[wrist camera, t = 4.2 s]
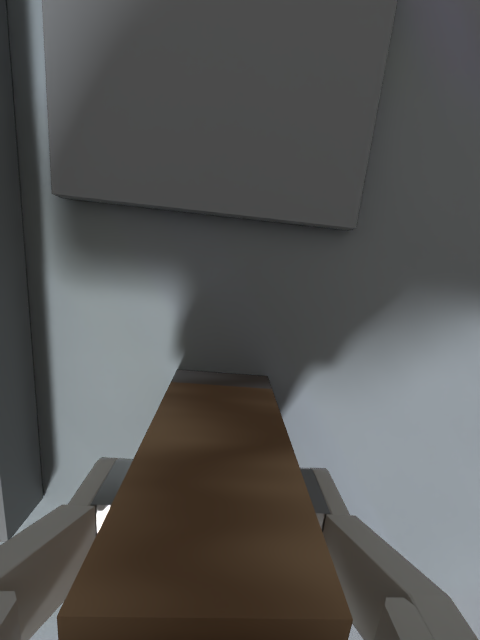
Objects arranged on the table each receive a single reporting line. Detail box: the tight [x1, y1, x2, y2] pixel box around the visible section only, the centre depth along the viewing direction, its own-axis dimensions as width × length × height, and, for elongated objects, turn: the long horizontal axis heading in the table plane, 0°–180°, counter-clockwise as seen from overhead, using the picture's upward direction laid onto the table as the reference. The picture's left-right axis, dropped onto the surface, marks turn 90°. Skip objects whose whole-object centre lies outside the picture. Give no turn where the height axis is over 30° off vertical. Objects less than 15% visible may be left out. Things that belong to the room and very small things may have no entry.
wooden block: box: [57, 370, 353, 640], centre depth 8 cm, size 4×4×8 cm
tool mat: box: [42, 0, 398, 230], centre depth 8 cm, size 11×11×1 cm
